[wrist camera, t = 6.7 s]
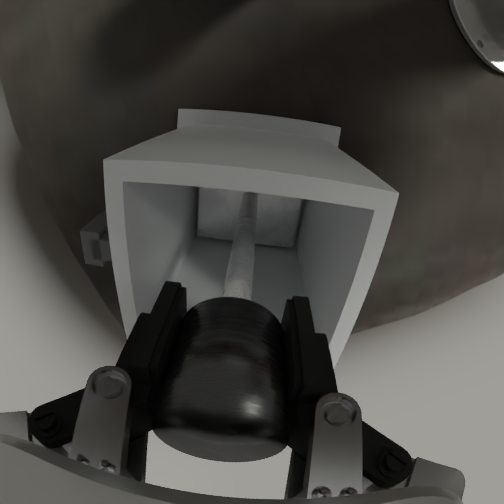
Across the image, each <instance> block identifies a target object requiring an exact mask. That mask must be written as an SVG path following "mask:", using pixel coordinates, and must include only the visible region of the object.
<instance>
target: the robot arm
mask: <svg viewBox="0 0 504 504" xmlns="http://www.w3.org/2000/svg"><path fill="white" fill-rule="evenodd" d="M449 4H450V7H451V10H452V14H453V16H454V18H455V21H456V23H457V25H458V27H459V29H460V31H461V33H462V34H463V36H464V38H465V39H466V41H467V42H468V44H469V45H470V47H471V48H472V49H473V50H474V51H475V53H476V54H477V55H478V56H479V57H480V58H481V59H482V60H483V61H484V62H485V63H486V64H487V65H489V66H490V67H491V68H492V69H494V70H496V71H498V72H500V73H503V74H504V0H449ZM186 313H187V291H186V287H182V285H181V283H180V282H173V281H165V283H164V285H163V287H162V289H161V291H160V293H159V296H158V298H157V300H156V302H155V304H154V306H153V309H152V311H151V313H150V314H149V313H144V312H142V313H140V315H139V316H138V318H137V320H136V323H135V325H134V327H133V329H132V331H131V333H130V335H129V337H128V339H127V341H126V344H125V346H124V348H123V350H122V352H121V355H120V357H119V359H118V361H117V363H116V366H105V367H101V368H98V369H97V370H95V371H94V372H93V373H92V374H91V375H90V377H89V379H88V380H87V384H86V387H85V388H84V389H82V390H79V391H77V392H74V393H72V394H69V395H67V396H64V397H61V398H59V399H56V400H54V401H51V402H48V403H46V404H43V405H41V406H39V407H37V408H35V410H34V411H33V412H32V413H28V412H27V411H18V412H6V413H0V504H463V502H462V496H463V492H464V487H465V478H464V475H463V474H462V473H461V471H459V470H457V469H455V468H451V467H448V466H444V465H441V464H437V463H434V462H431V461H428V460H425V459H422V458H419V457H417V458H416V459H413V458H411V456H410V455H409V453H408V452H407V451H406V450H405V449H404V448H402V447H401V446H399V445H398V444H396V443H394V442H393V441H392V440H390V439H389V438H387V437H386V436H384V435H382V434H381V433H379V432H378V431H377V430H375V429H374V428H372V427H371V426H369V425H368V424H367V423H365V422H364V421H362V418H361V409H360V407H359V405H358V403H357V402H356V401H355V400H354V399H353V398H352V397H350V396H348V395H346V394H342V393H338V390H337V385H336V379H335V374H334V369H333V364H332V359H331V354H330V349H329V344H328V339H327V336H326V334H325V333H315V329H314V323H313V318H312V312H311V307H310V302H309V298H308V297H303V296H293V297H292V299H287V300H286V304H285V309H284V313H283V317H282V322H281V326H282V328H283V332H284V349H285V367H286V386H287V407H288V432H289V442H288V446H289V447H290V448H292V452H291V459H290V466H289V472H288V479H287V484H286V491H285V497H284V500H275V499H274V500H273V499H246V498H245V499H244V498H232V497H222V496H213V495H205V494H198V493H192V492H186V491H180V490H175V489H169V488H165V487H160V486H156V485H152V484H148V483H145V475H146V456H147V443H148V432H149V431H151V430H153V429H152V420H153V416H154V412H155V409H156V405H157V402H158V398H159V395H160V391H161V388H162V385H163V381H164V378H165V374H166V371H167V368H168V365H169V361H170V358H171V355H172V351H173V348H174V345H175V342H176V339H177V336H178V332H179V329H180V326H181V323H182V320H183V318H184V316H185V315H186Z"/></svg>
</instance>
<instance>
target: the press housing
mask: <svg viewBox="0 0 504 504" xmlns="http://www.w3.org/2000/svg"><path fill="white" fill-rule="evenodd" d="M340 132H341V127H337V126H332V125H327V124H322V123H316V122H311V121H305V120H299V119H292V118H286V117H278V116H271V115H263V114H254V113H244V112H233V111H220V110H204V109H178V122H177V129H176V130H173V131H170V132H167V133H165V134H162V135H160V136H157V137H154V138H152V139H149V140H147V141H144V142H142V143H140V144H137V145H135V146H132V147H130V148H128V149H125V150H123V151H121V152H119V153H116V154H114V155H112V156H110V157H108V158H106V159H103V169H104V189H105V203H106V209H105V210H103V211H102V212H101V213H100V214H98V215H97V216H96V217H95V218H94V219H93V220H91V221H90V222H89V223H88V224H87V225H86V226H84V227H83V228H82V229H81V230H80V237H81V243H82V249H83V254H84V260H85V264H89V265H95V266H102V267H104V265H105V264H106V263H107V262H108V261H110V262H112V264H113V271H114V277H115V283H116V289H117V294H118V299H119V305H120V309H121V314H122V319H123V324H124V328H125V332H126V336H127V339H128V337H129V335H130V333H131V331H132V329H133V327H134V325H135V323H136V320H137V318H138V316H139V315H140V313H142V312H144V313H149V314H150V313H151V311H152V309H153V306H154V304H155V302H156V300H157V298H158V296H159V293H160V291H161V289H162V287H163V285H164V283H165V281H173V282H180V283H181V285H182V287H186V291H187V312H188V311H189V310H190V309H191V308H192V307H193V306H195V305H196V304H198V303H200V302H202V301H205V300H208V299H212V298H217V297H222V294H223V289H224V284H225V279H226V274H227V269H228V264H229V259H230V254H231V249H232V244H233V241H231V240H222V239H213V238H205V237H198V209H199V188H200V187H207V188H218V189H228V190H237V191H246V192H255V193H263V194H271V195H279V196H287V197H294V198H301V199H302V202H301V207H300V213H299V218H298V223H297V228H296V234H295V239H294V244H293V248H291V247H283V246H274V245H266V244H257V243H255V251H254V267H253V283H252V299H251V301H253V302H256V303H258V304H260V305H262V306H264V307H265V308H267V309H268V310H270V311H271V312H272V313H273V314H274V315H275V316H276V317H277V319H278V320H279V322H280V323H281V322H282V317H283V313H284V309H285V304H286V300H287V299H292V297H293V296H303V297H308V298H309V302H310V307H311V312H312V318H313V323H314V329H315V333H325V334H326V336H327V339H328V344H329V349H330V354H331V359H332V364H333V369H334V368H335V366H336V364H337V362H338V360H339V358H340V355H341V353H342V351H343V349H344V346H345V344H346V342H347V340H348V337H349V335H350V333H351V331H352V329H353V326H354V324H355V321H356V319H357V317H358V314H359V312H360V309H361V307H362V304H363V302H364V299H365V297H366V294H367V292H368V289H369V286H370V284H371V281H372V278H373V275H374V273H375V270H376V267H377V264H378V261H379V258H380V256H381V253H382V250H383V247H384V244H385V240H386V237H387V234H388V231H389V228H390V224H391V221H392V218H393V214H394V211H395V207H396V204H397V200H398V196H399V193H398V192H397V191H396V190H394V189H393V188H392V187H391V186H389V185H388V184H387V183H386V182H384V181H383V180H382V179H380V178H379V177H378V176H376V175H375V174H374V173H372V172H371V171H370V170H368V169H367V168H366V167H364V166H363V165H362V164H360V163H359V162H357V161H356V160H355V159H353V158H352V157H350V156H349V155H347V154H346V153H345V152H343V151H342V150H340V149H339V148H338V144H339V138H340Z"/></svg>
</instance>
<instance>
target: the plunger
mask: <svg viewBox="0 0 504 504" xmlns="http://www.w3.org/2000/svg"><path fill="white" fill-rule="evenodd" d="M301 202H302V199H301V198H294V197H287V196H279V195H271V194H263V193H255V192H246V191H237V190H228V189H218V188H207V187H200V188H199V209H198V237H205V238H213V239H222V240H231V241H233V244H232V249H231V254H230V259H229V264H228V269H227V274H226V279H225V284H224V289H223V294H222V297H217V298H212V299H208V300H205V301H202V302H200V303H198V304H196V305H195V306H193V307H192V308H191V309H190V310H189V311H188V312H187V313H186V315H185V316H184V318H183V320H182V323H181V326H180V329H179V332H178V336H177V339H176V342H175V345H174V348H173V351H172V355H171V358H170V361H169V365H168V368H167V371H166V374H165V378H164V381H163V385H162V388H161V391H160V395H159V398H158V402H157V405H156V409H155V412H154V416H153V420H152V429H153V431H154V433H155V434H156V435H157V436H158V437H159V438H160V439H161V440H162V441H163V442H164V443H166V444H167V445H169V446H171V447H173V448H175V449H177V450H179V451H181V452H184V453H186V454H189V455H192V456H195V457H199V458H203V459H208V460H214V461H223V462H248V461H256V460H261V459H265V458H268V457H271V456H273V455H276V454H278V453H279V452H281V451H282V450H283V449H285V448H286V446H287V445H288V442H289V432H288V407H287V386H286V367H285V349H284V332H283V328H282V326H281V323H280V322H279V320H278V319H277V317H276V316H275V315H274V314H273V313H272V312H271V311H270V310H268V309H267V308H265V307H264V306H262V305H260V304H258V303H256V302H253V301H251V299H252V283H253V267H254V251H255V243H257V244H266V245H274V246H283V247H291V248H293V244H294V239H295V234H296V228H297V223H298V218H299V213H300V207H301Z"/></svg>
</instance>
